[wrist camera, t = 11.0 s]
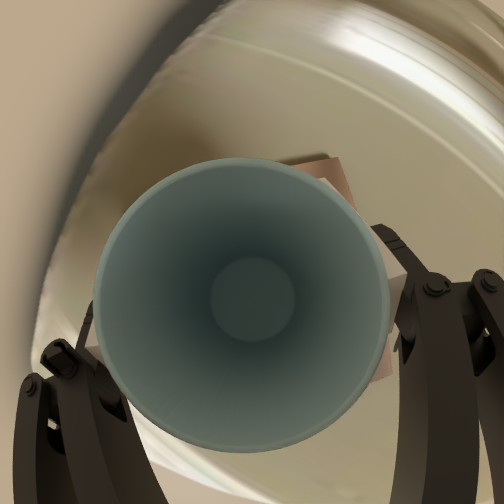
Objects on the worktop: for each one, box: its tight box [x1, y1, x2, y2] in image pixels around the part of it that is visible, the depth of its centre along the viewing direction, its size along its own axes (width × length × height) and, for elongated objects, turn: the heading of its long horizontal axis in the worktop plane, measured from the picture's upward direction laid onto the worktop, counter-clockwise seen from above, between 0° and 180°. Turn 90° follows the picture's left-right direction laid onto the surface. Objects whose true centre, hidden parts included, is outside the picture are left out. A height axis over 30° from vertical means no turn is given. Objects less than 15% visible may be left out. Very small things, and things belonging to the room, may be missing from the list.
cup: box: [93, 158, 391, 453], centre depth 11 cm, size 8×8×10 cm
